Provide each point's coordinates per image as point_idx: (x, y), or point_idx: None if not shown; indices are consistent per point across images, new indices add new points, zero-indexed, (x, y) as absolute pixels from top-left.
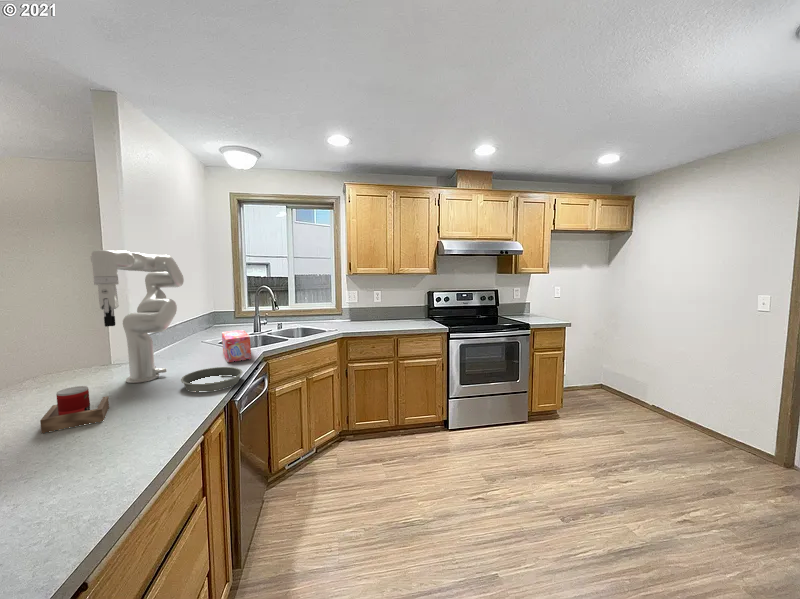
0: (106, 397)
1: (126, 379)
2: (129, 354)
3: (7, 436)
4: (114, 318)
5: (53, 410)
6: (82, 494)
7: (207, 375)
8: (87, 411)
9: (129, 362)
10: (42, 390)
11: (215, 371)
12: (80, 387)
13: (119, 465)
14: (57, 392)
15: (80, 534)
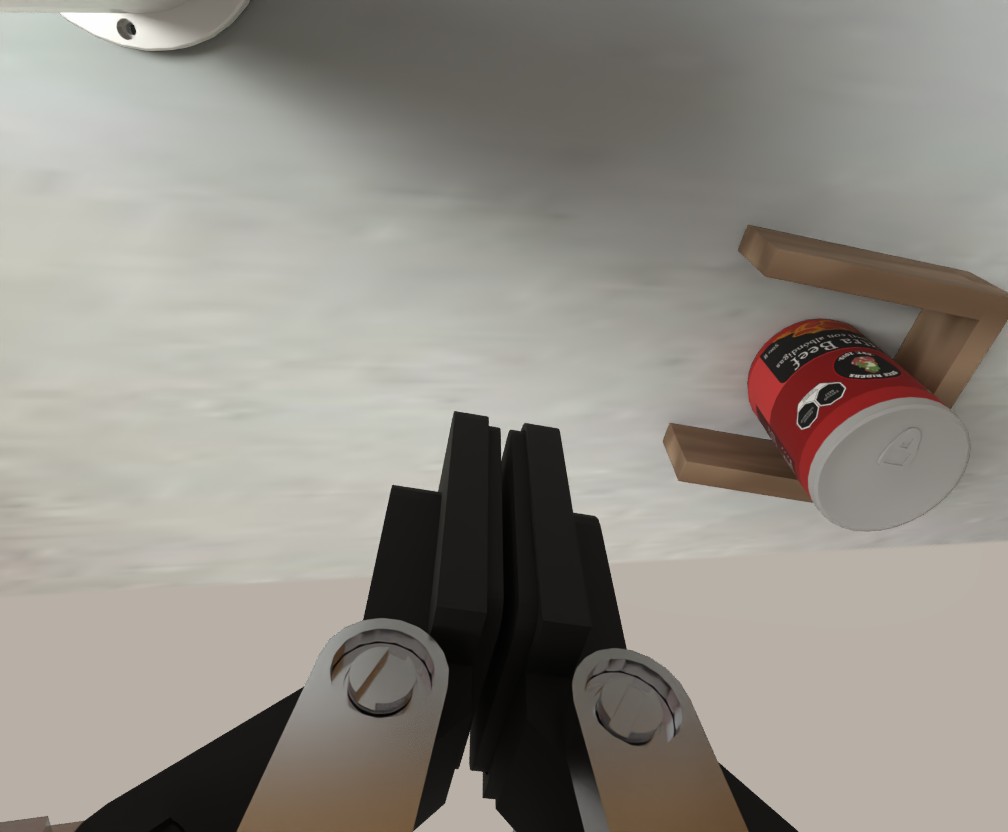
0: (798, 260)
1: (151, 47)
2: (23, 2)
3: (754, 553)
4: (560, 556)
5: (778, 477)
6: None
7: None
8: (973, 361)
9: (72, 9)
10: (85, 485)
11: None
12: (859, 435)
13: None
14: (863, 528)
15: None
